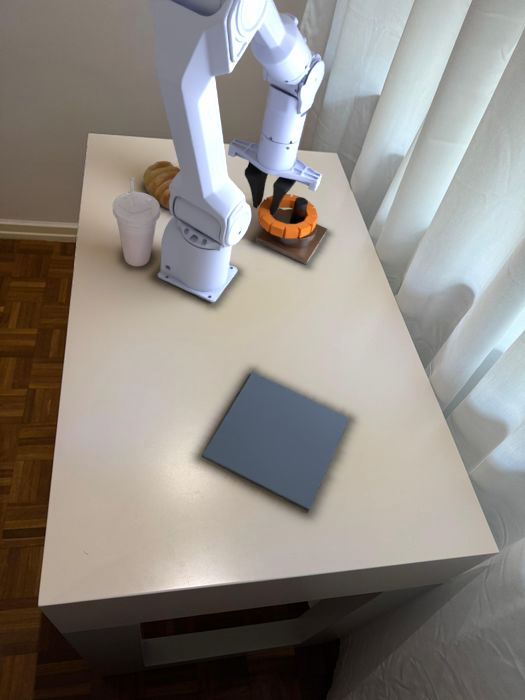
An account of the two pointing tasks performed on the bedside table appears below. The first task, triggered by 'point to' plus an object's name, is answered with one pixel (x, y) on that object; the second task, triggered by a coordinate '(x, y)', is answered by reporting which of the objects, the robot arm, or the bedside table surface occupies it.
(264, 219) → the ring
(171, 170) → the pastry
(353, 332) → the bedside table surface
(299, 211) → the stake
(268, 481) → the mat
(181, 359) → the bedside table surface
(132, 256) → the smoothie
